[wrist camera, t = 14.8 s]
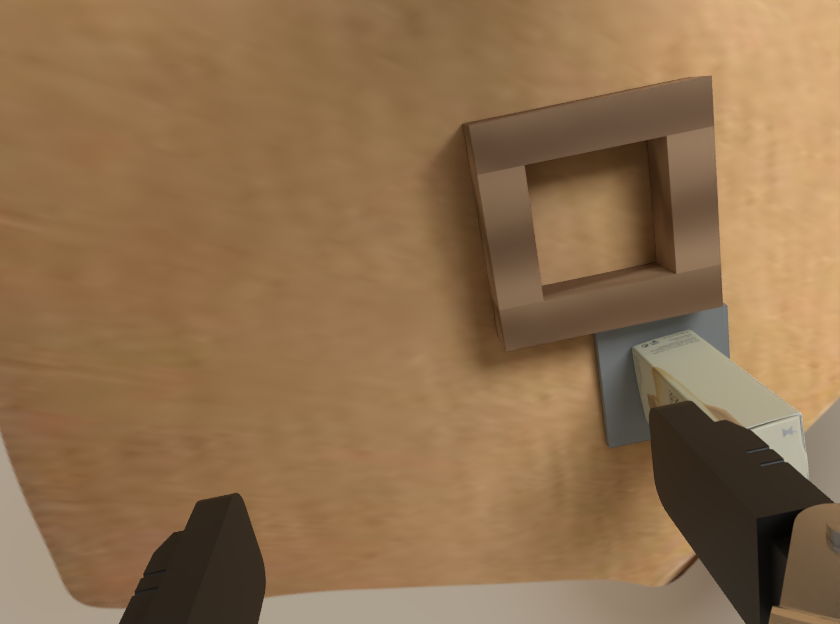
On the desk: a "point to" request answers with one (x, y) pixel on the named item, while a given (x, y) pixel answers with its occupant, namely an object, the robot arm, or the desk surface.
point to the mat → (619, 370)
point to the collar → (671, 204)
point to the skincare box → (717, 391)
